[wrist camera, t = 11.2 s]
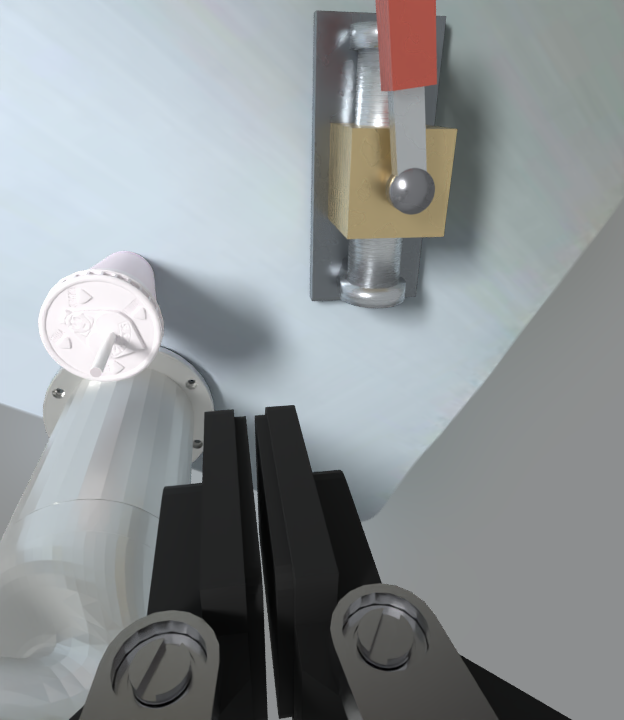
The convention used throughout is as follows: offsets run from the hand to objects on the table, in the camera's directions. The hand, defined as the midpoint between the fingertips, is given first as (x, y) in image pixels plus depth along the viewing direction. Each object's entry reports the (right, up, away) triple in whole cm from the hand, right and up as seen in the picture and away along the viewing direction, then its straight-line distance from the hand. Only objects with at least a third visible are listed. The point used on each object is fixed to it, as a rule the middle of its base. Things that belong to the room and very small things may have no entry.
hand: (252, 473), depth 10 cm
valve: (+5, +15, +26) cm, 31 cm away
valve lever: (+6, +16, +17) cm, 24 cm away
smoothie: (-12, +8, +27) cm, 31 cm away
